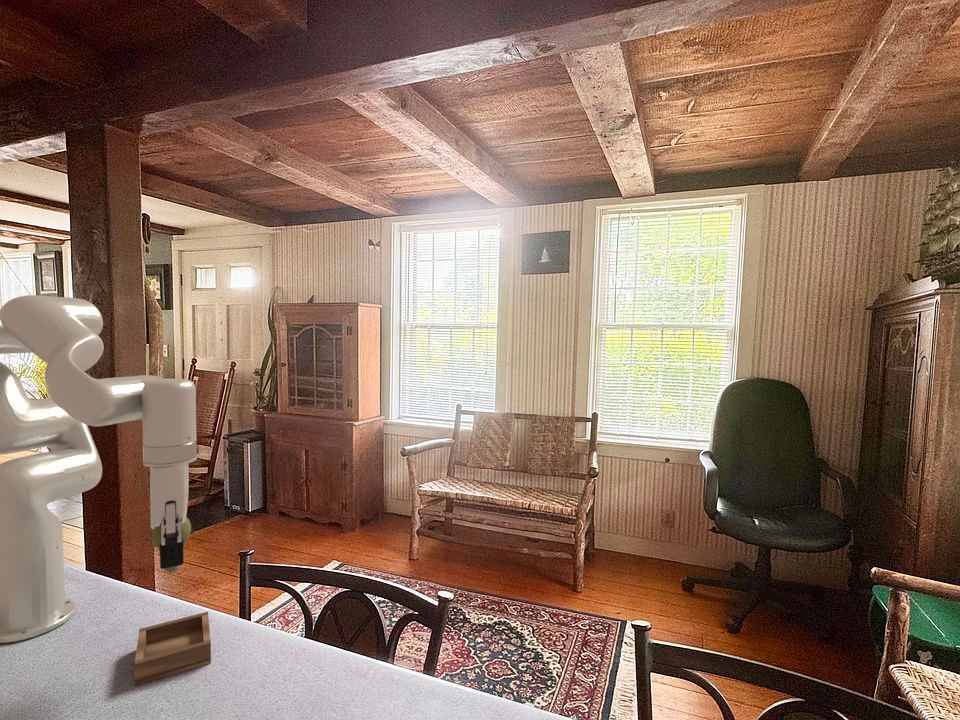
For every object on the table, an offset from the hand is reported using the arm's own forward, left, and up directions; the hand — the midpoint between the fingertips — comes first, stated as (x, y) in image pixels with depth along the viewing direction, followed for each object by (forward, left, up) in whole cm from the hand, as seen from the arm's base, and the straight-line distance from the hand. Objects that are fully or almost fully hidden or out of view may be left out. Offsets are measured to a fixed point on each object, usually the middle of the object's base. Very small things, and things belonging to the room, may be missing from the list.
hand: (172, 557), depth 81 cm
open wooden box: (0, 0, -17) cm, 17 cm away
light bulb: (0, 0, -3) cm, 3 cm away
